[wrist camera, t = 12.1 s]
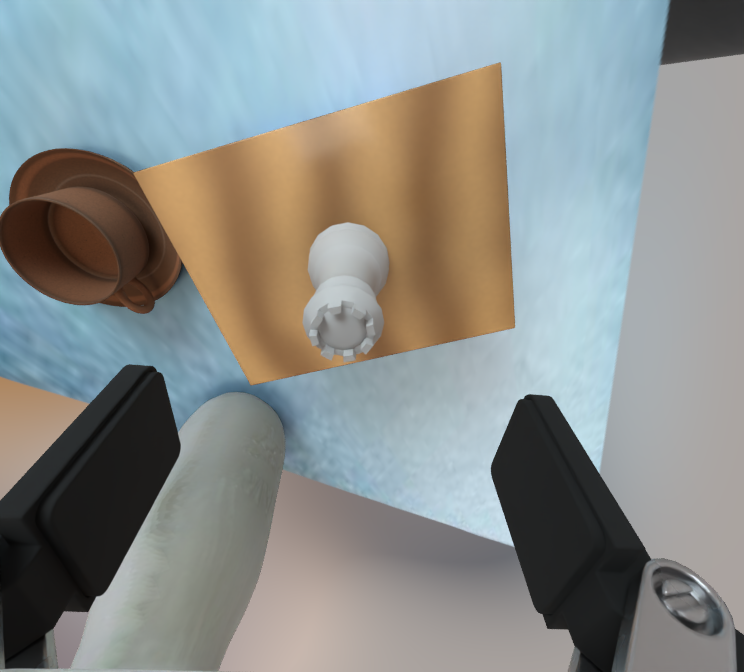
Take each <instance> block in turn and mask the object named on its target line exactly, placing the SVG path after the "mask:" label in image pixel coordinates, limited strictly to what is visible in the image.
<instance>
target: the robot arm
mask: <svg viewBox="0 0 744 672" xmlns="http://www.w3.org/2000/svg"><path fill="white" fill-rule="evenodd" d="M180 450H181V443H180V439H179V435H178V431H177V428H176V424H175V420H174V416H173V412H172V408H171V404H170V400H169V396H168V393H167V389H166V385H165V381H164V377H163V375H162V374H161V373H159V372H157V370H156V369H155V368H154V367H153V366H143V365H130V364H129V365H126V366H125V367H124V368H123V369H122V370H121V371H120V372H119V373H118V374H117V375H116V376H115V377H114V378H113V379H112V380H111V381H110V383H109V384H108V385H107V386H106V387H105V388H104V389H103V390H102V391H101V392H100V393H99V394H98V396H97V397H96V398H95V399H94V400H93V401H92V402H91V403H90V404H89V405H88V406H87V407H86V409H85V410H84V411H83V412H82V413H81V414H80V415H79V416H78V417H77V418H76V419H75V420H74V422H73V423H72V424H71V425H70V426H69V427H68V428H67V429H66V430H65V431H64V432H63V433H62V435H61V436H60V437H59V438H58V439H57V440H56V441H55V442H54V443H53V444H52V445H51V447H49V449H48V450H47V451H46V452H45V453H44V454H43V455H42V456H41V457H40V458H39V460H37V462H36V463H35V464H34V465H33V466H32V467H31V468H30V469H29V470H28V471H27V473H25V475H24V476H23V477H22V478H21V479H20V480H19V481H18V482H17V483H16V484H15V485H14V487H13V488H12V489H11V490H10V491H9V492H8V493H7V494H6V495H5V496H4V497H3V498H2V499H1V500H0V672H219V671H176V670H132V669H58V662H57V655H56V646H55V639H54V631H53V628H54V627H55V625H56V623H57V622H58V620H59V618H60V617H61V615H62V613H63V612H64V611H72V612H88V611H89V610H90V608H91V606H92V604H93V602H94V601H95V599H96V597H98V596H102V595H103V594H104V593H105V592H106V591H107V589H108V588H109V586H110V584H111V582H112V580H113V579H114V577H115V575H116V573H117V571H118V569H119V567H120V566H121V564H122V562H123V560H124V558H125V556H126V554H127V552H128V551H129V549H130V547H131V545H132V543H133V541H134V539H135V538H136V536H137V534H138V532H139V530H140V528H141V526H142V525H143V523H144V521H145V519H146V517H147V515H148V513H149V511H150V510H151V508H152V506H153V504H154V502H155V500H156V498H157V497H158V495H159V493H160V491H161V489H162V487H163V485H164V484H165V482H166V480H167V478H168V476H169V474H170V472H171V470H172V469H173V467H174V465H175V463H176V461H177V459H178V457H179V454H180ZM491 475H492V479H493V482H494V485H495V488H496V491H497V494H498V497H499V500H500V503H501V507H502V510H503V513H504V516H505V519H506V522H507V525H508V528H509V531H510V534H511V537H512V540H513V543H514V546H515V550H516V552H517V556H518V559H519V562H520V565H521V568H522V571H523V574H524V577H525V580H526V583H527V586H528V589H529V592H530V596H531V598H532V602H533V604H534V607H535V608H536V610H537V612H538V613H540V614H543V617H544V620H545V622H546V626H547V628H548V629H568V630H569V632H570V635H571V637H572V640H573V643H574V646H575V647H574V651H573V654H572V658H571V661H570V665H569V669H568V672H744V635H743V634H742V633H740V632H739V631H738V630H736V629H735V627H734V623H733V618H732V615H731V614H730V612H729V610H728V608H727V606H726V604H725V602H724V601H723V600H722V599H721V597H720V596H719V595H718V593H717V592H716V591H715V590H714V589H713V588H712V587H711V586H710V585H709V584H708V583H707V582H706V581H705V580H704V579H703V578H701V577H700V576H699V575H698V574H696V573H695V572H693V571H692V570H691V569H689V568H687V567H685V566H683V565H681V564H679V563H677V562H675V561H672V560H668V559H664V558H661V559H652V560H651V558H650V556H649V555H648V553H647V552H646V550H645V547H644V546H643V544H642V542H641V541H640V539H639V537H638V536H637V534H636V533H635V531H634V529H633V528H632V526H631V524H630V523H629V521H628V520H627V518H626V516H625V515H624V513H623V511H622V510H621V508H620V507H619V505H618V503H617V502H616V500H615V498H614V497H613V495H612V494H611V492H610V491H609V489H608V487H607V486H606V484H605V482H604V481H603V479H602V477H601V476H600V474H599V473H598V471H597V469H596V468H595V466H594V464H593V463H592V461H591V460H590V458H589V456H588V455H587V453H586V451H585V450H584V448H583V447H582V445H581V443H580V442H579V440H578V439H577V437H576V435H575V434H574V432H573V430H572V429H571V427H570V426H569V424H568V422H567V421H566V419H565V417H564V416H563V414H562V413H561V411H560V409H559V408H558V406H557V404H556V403H555V401H554V400H553V399H552V397H550V396H544V395H531V394H529V395H526V396H525V397H524V399H520V400H519V401H518V402H517V404H516V407H515V409H514V412H513V414H512V416H511V419H510V421H509V424H508V426H507V428H506V431H505V433H504V436H503V438H502V440H501V443H500V445H499V447H498V450H497V452H496V455H495V457H494V459H493V462H492V465H491Z"/></svg>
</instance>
